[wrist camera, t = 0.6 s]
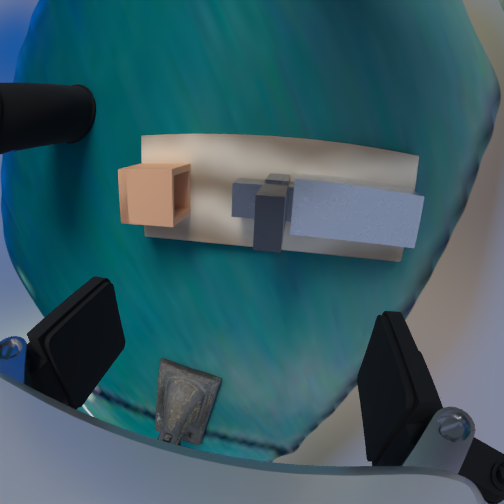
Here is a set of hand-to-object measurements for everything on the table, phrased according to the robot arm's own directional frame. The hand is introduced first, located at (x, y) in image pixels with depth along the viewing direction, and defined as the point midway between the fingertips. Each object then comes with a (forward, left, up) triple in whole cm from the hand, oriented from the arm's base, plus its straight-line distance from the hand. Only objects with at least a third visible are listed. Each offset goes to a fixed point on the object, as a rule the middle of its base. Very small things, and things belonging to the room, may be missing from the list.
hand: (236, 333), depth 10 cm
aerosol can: (-10, -28, -24) cm, 38 cm away
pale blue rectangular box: (0, +7, -23) cm, 24 cm away
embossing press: (+38, -14, -24) cm, 47 cm away
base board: (0, -1, -24) cm, 24 cm away
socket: (0, -13, -23) cm, 26 cm away
